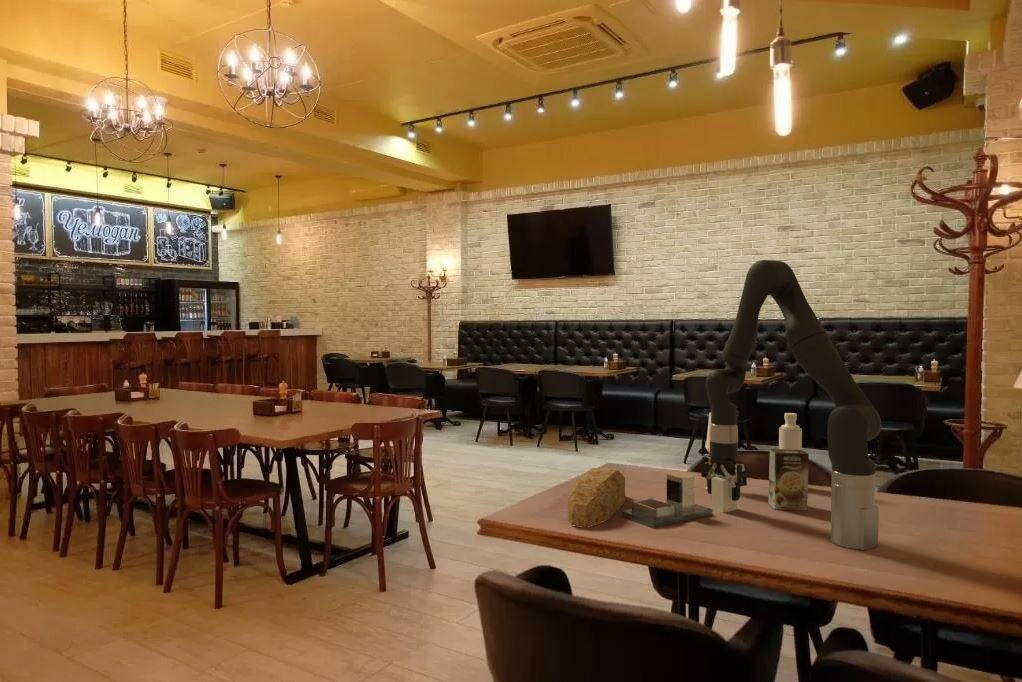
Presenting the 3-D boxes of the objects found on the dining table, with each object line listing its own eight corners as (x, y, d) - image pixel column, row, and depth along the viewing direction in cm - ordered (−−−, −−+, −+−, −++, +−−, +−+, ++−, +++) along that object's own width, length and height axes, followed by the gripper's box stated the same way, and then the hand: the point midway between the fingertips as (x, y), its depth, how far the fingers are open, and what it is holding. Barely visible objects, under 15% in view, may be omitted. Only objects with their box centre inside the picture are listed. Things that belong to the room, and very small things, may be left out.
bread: (596, 492, 210) (596, 460, 209) (631, 496, 205) (631, 463, 205) (558, 525, 177) (557, 487, 176) (598, 530, 172) (598, 491, 172)
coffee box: (774, 509, 189) (774, 452, 189) (768, 503, 196) (768, 448, 195) (808, 510, 189) (809, 453, 188) (800, 504, 195) (801, 449, 194)
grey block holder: (712, 514, 185) (712, 476, 185) (652, 527, 173) (652, 487, 173) (680, 504, 195) (680, 468, 195) (621, 516, 184) (621, 478, 183)
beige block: (737, 509, 190) (737, 477, 190) (722, 512, 187) (722, 480, 187) (724, 505, 194) (724, 474, 194) (709, 508, 191) (709, 477, 191)
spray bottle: (806, 488, 213) (806, 409, 212) (787, 490, 211) (788, 410, 210) (791, 483, 219) (792, 407, 218) (774, 485, 217) (774, 407, 216)
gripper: (753, 442, 186) (752, 500, 186) (713, 434, 198) (712, 489, 198) (734, 445, 182) (734, 504, 182) (695, 437, 194) (694, 493, 195)
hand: (723, 496), depth 190 cm, fingers open, 8 cm apart
